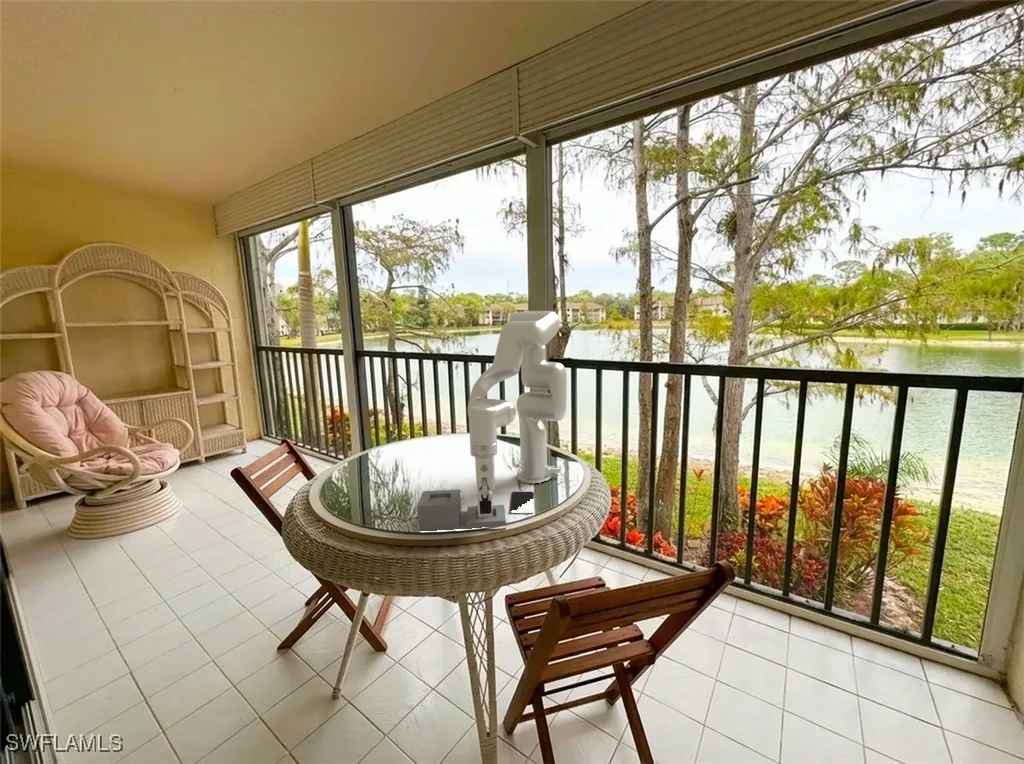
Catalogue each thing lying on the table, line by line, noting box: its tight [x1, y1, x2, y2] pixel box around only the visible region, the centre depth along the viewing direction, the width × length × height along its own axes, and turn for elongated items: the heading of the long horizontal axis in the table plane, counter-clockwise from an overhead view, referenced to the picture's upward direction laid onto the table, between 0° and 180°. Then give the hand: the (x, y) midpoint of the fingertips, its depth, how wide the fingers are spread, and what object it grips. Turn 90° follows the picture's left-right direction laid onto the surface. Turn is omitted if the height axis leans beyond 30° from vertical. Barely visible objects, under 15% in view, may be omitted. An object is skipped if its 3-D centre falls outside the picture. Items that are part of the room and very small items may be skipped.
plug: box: [476, 488, 493, 518], centre depth 121 cm, size 4×3×9 cm
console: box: [417, 489, 507, 532], centre depth 121 cm, size 24×10×8 cm, turn 94°
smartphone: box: [509, 491, 535, 512], centre depth 134 cm, size 7×1×15 cm
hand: (485, 505), depth 122 cm, fingers open, 9 cm apart
